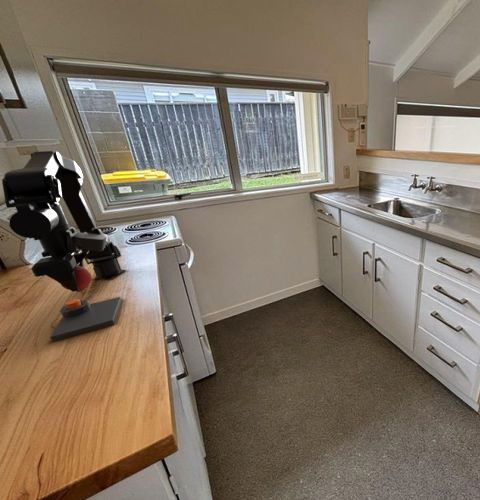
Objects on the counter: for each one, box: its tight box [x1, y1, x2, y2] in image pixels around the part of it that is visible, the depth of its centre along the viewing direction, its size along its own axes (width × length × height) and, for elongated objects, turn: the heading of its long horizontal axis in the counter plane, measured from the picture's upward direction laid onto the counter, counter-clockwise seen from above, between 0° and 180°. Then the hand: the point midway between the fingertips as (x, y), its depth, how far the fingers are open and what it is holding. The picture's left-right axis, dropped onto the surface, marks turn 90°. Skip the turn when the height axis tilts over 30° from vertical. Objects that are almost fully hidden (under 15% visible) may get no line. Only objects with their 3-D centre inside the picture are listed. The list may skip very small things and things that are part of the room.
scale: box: [49, 296, 123, 343], centre depth 75 cm, size 14×12×3 cm
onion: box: [60, 266, 93, 293], centre depth 70 cm, size 6×6×8 cm
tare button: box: [65, 298, 82, 309], centre depth 76 cm, size 3×3×2 cm
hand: (79, 286), depth 71 cm, fingers closed on onion, 6 cm apart
